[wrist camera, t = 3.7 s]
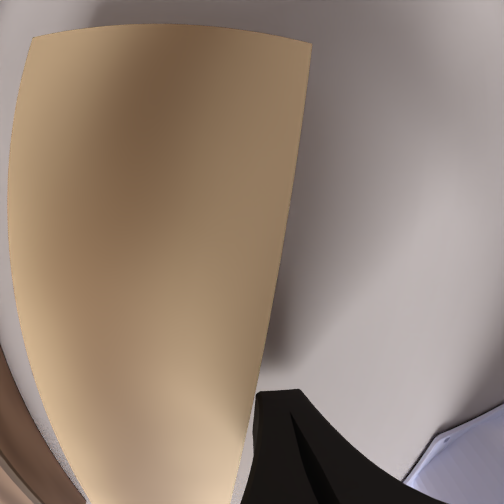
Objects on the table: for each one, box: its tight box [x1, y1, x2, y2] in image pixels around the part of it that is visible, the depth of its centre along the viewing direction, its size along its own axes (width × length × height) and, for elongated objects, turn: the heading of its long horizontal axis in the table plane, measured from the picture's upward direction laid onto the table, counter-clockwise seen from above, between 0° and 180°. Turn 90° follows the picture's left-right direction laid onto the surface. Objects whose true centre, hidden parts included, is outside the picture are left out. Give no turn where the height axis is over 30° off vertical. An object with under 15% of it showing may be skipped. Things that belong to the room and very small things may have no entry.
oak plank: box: [7, 24, 312, 504], centre depth 8 cm, size 6×20×3 cm, turn 171°
